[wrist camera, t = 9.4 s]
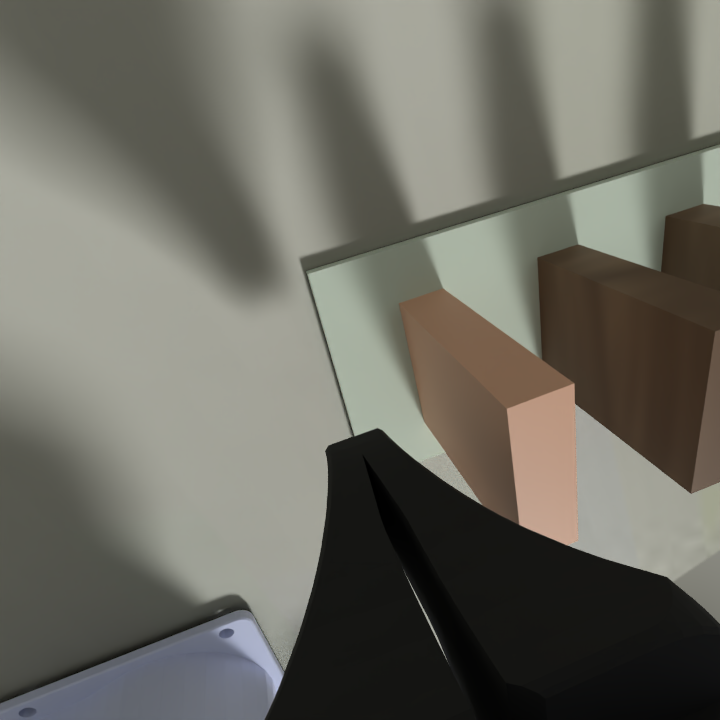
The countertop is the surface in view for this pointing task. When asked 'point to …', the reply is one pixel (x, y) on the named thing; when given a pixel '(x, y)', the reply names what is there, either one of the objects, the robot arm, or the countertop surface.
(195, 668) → the robot arm
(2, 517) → the countertop surface
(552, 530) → the terracotta domino
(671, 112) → the countertop surface
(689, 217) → the domino
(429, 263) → the sage mat
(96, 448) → the countertop surface
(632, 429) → the domino
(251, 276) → the countertop surface
